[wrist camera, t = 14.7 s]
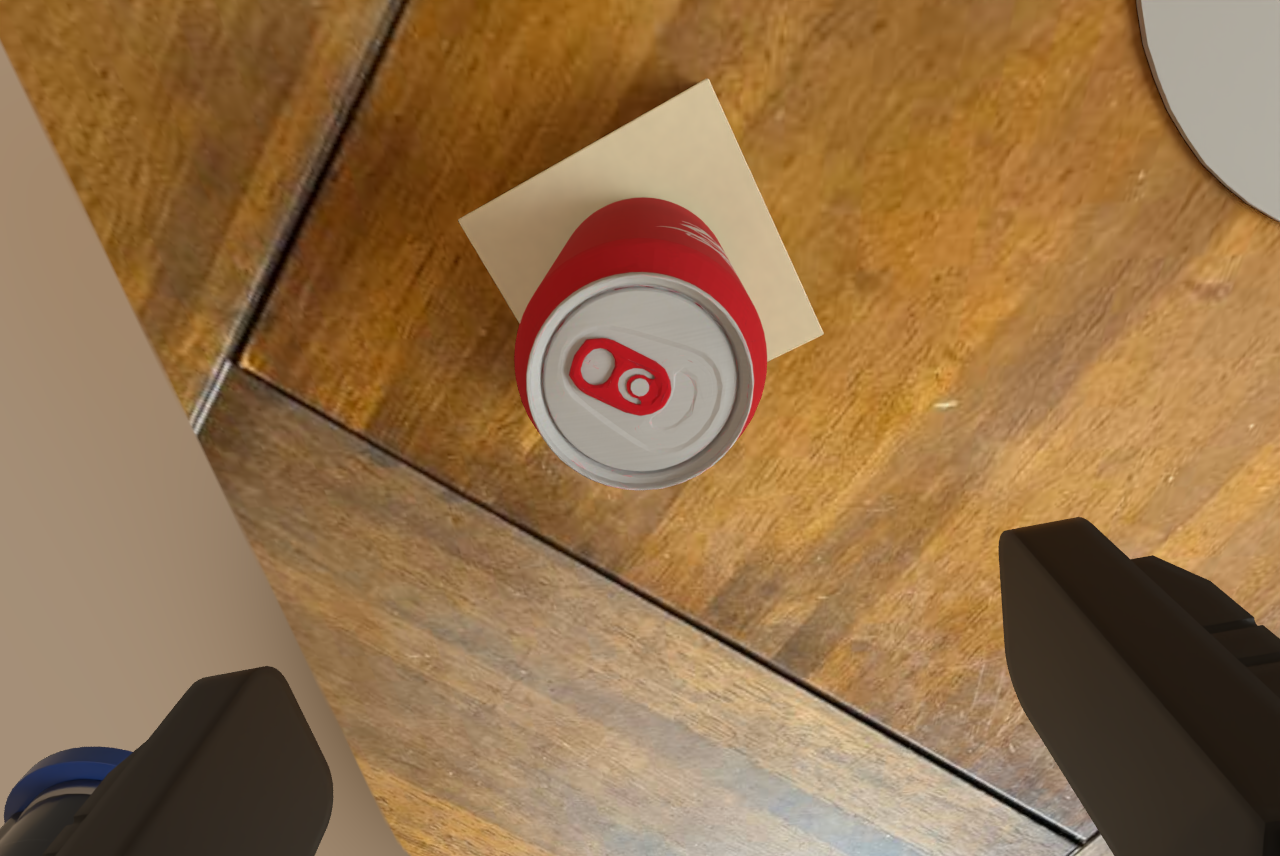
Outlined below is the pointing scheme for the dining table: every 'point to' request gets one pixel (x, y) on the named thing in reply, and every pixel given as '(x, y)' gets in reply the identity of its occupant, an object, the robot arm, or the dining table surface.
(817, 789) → the dining table surface
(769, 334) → the block
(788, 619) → the dining table surface
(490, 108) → the dining table surface
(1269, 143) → the plate
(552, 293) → the beverage can
